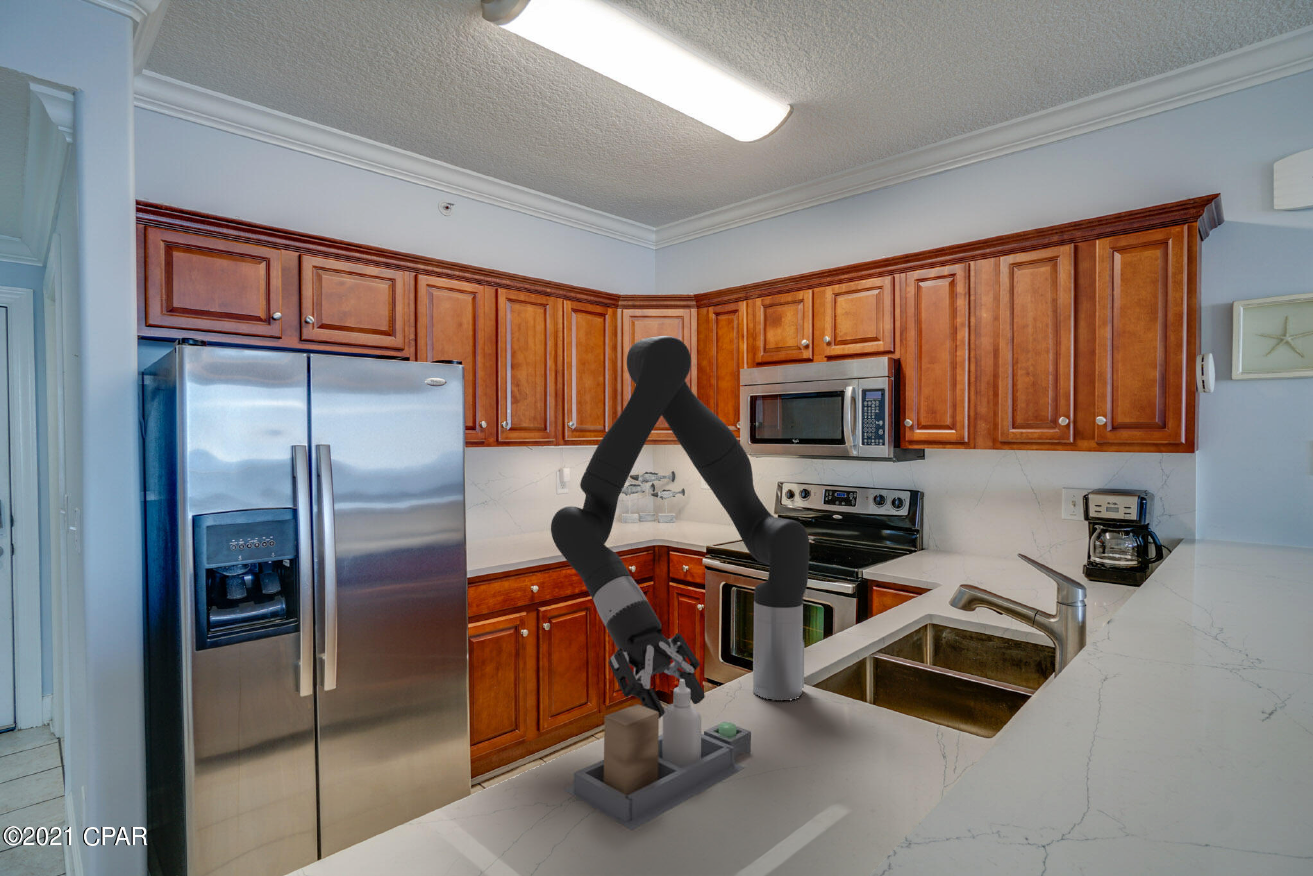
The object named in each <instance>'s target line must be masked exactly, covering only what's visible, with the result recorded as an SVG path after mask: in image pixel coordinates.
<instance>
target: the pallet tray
mask: <svg viewBox="0 0 1313 876" xmlns="http://www.w3.org/2000/svg"><path fill="white" fill-rule="evenodd" d="M743 769H745V767H744V766H743V765H740V764H738V763H736V762H735V757H734V747H733V746H730V745H728V744H725V743H723V742H720V741H718V740H715V739H713V738H711V737H708V736H706V735H704V733H701V759H700V760H698V761H696V762H694V763H692V764H690V765H688V766H686V767H684V768H680V767H678V766H676V765H674V764H672V763H670V762H667V761H665V760H663V759H662V734H661V735H659V736H658V781H656V782H654V783H652V784H650V785H648V786H646V787H644V788H642V789H640V790H638V791H636V792H634V793H632V794H630V795H628V796H626V795H624V794H623V793H621V792H619V791H617V790H615V789H614V788H612V787H610V786H608V785H606V784H605V783H604V759H603V760H599V761H598V762H596V763H593V764H591V765H589V766H586V767H584V768H582V769H579V770H577V771H574V772H573V784H572V785H569V786H568V787H565V788H563V790H564V791H565V792H567V793H569V794H570V795H572V796H573V797H576V798H577V799H578V800H581V801H582V802H584V803H585V804H587V805H588V806H591V807H592V808H594V809H596V810H597V811H599V812H601V813H602V814H604V815H606V816H607V817H609V818H610V819H612V820H614V821H616V822H617V823H619V824H621V825H622V826H624V827H625V828H627V829H629V830H631V831H633V830H635V829H637V828H638V827H640V826H642V825H644V824H646V823H647V822H650V821H651V820H653V819H655V818H657V817H658V816H660V815H662V814H664V813H666V812H667V811H670V810H671V809H673V808H675V807H677V806H679V805H680V804H682V803H684V802H685V801H687V800H689V799H691V798H693V797H694V796H697V795H699V794H700V793H702V792H703V791H704V792H705V791H706V790H707V789H709V788H711V787H712V786H715V785H716V784H718V783H720V782H722V781H724V780H725V779H727V778H730V777H731V776H733V775H734V774H736V773H739V772H740V771H742V770H743Z"/></svg>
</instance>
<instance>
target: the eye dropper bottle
mask: <svg viewBox="0 0 1313 876" xmlns="http://www.w3.org/2000/svg"><path fill="white" fill-rule="evenodd" d="M672 695H673V703H670V704H668V705H666V706H665V707H664V708H663V709H664V711H665V713H664V715H663V716H662V734H661V735H662V759H663V760H665V761H667V762H670V763H672V764H674V765H676V766H678V767H680V768H684V767H686V766H688V765H690V764H692V763H694V762H696V761H698V760H700V759H701V734H702V717H701V714H700V712H699V711H698V709H696V708H694V706H692V705H691V699H690V698H691V690H690V689H689V688H687V687H686V685H685V680H684V679H679V683H678V686H677V687H675V688H674V689H673V694H672Z"/></svg>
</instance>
